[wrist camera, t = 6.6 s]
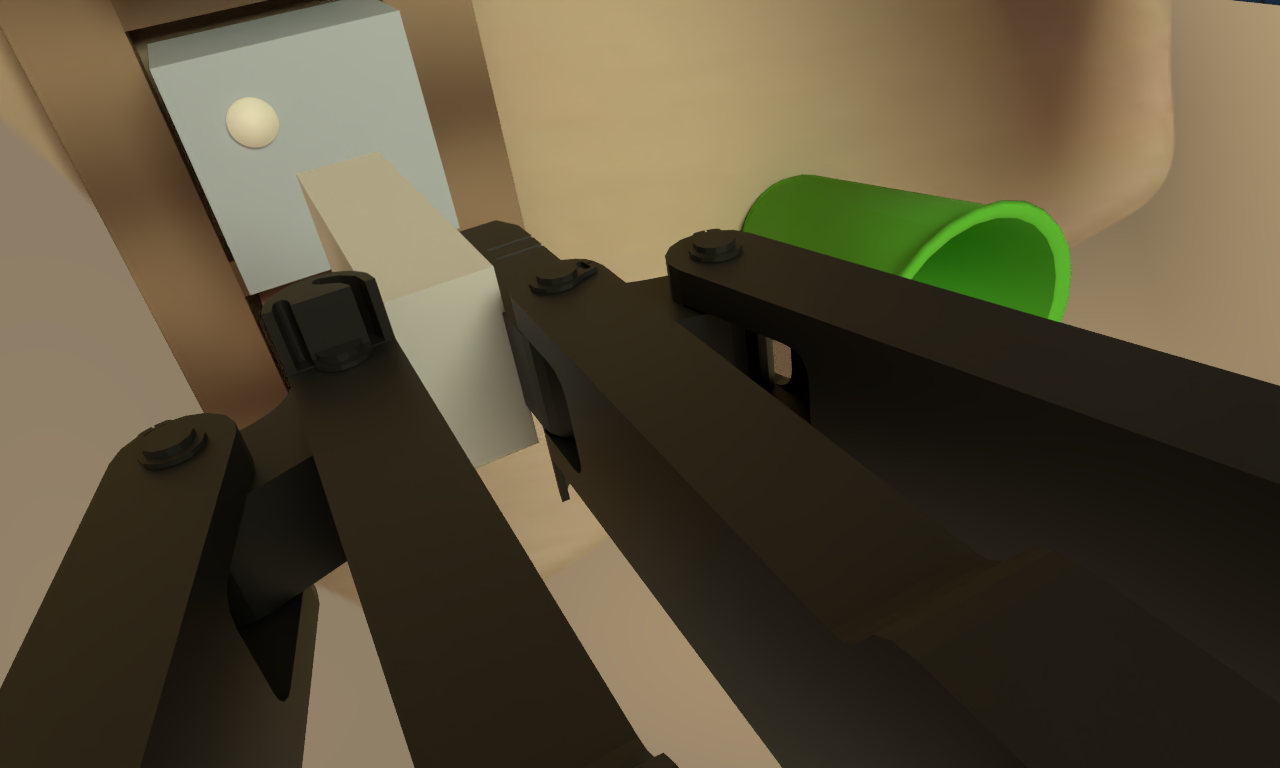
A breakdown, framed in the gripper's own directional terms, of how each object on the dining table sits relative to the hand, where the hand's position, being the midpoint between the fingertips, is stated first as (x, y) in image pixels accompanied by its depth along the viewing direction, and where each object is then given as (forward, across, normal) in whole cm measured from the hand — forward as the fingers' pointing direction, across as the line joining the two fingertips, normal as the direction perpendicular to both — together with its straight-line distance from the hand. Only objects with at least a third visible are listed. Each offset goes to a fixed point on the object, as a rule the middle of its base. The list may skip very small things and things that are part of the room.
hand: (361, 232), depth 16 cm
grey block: (+12, 0, 0) cm, 12 cm away
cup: (+14, +19, -10) cm, 25 cm away
